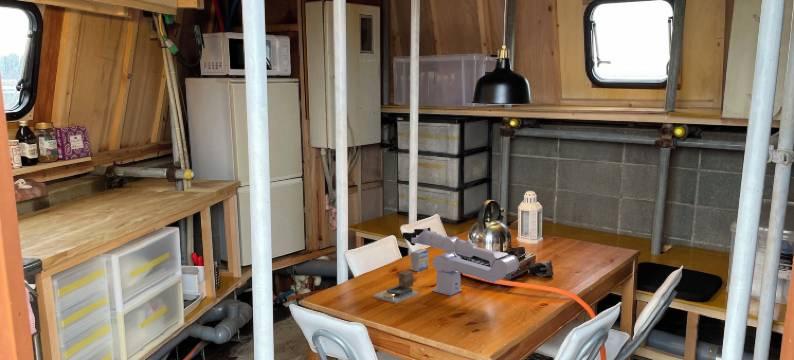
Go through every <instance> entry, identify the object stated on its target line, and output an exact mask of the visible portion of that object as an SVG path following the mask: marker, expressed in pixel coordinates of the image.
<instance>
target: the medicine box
mask: <svg viewBox="0 0 794 360" xmlns="http://www.w3.org/2000/svg"><path fill="white" fill-rule="evenodd" d="M428 268H429V250H428V249H424V248H420V249H417V250H414V251H411V252H410V269H411V270H410V271H412V272H413V271H414V272H417V273H419V272H421V271H424V270H427V269H428Z"/></svg>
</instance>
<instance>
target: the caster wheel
mask: <svg viewBox="0 0 794 360" xmlns="http://www.w3.org/2000/svg"><path fill="white" fill-rule="evenodd" d="M528 271H529V274H535V275H537V277H539V278H541V277H548V276H553V277H554V276H555V274H554V266H553V262H552V260H550V259H548V261H541V262H540V261H539V262H536V263H534V265H533V266H532V265H531V266H528Z"/></svg>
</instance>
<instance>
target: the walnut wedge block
mask: <svg viewBox="0 0 794 360" xmlns="http://www.w3.org/2000/svg"><path fill="white" fill-rule="evenodd" d="M398 285H400V286H401V285H402V286H406V287H410V288H411V287H412V286H414V272H413V270H407V269H406V270H402V271H400V272H398Z"/></svg>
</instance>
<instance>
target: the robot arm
mask: <svg viewBox="0 0 794 360" xmlns="http://www.w3.org/2000/svg"><path fill="white" fill-rule="evenodd" d="M402 238H403V239H404V240H406V241H408V242H409V243H410V245H411V246H413V247H414V246H416V244H418V245H423V246H429V247H432V248H436V249H440V250H443V251H444V252H445V253H442V254H440V255H436V256H435V257H433V259H432V265H433V266H432V267H433V268H434V270H435V272H436V288H434V289H432V292H435V293H438V294H439V293H440V294H442V295H447V296H453V295H456V294H458V293H459V292H462V289H461V285H462V284H461V283H462V282H461V281H462V280H461V277H462V276H461V274H464V275H468V276H471V277H474V278H477V279H481V280H483V281H486V282H490V283H495V282H497V281H500V280H502V279H504V278H506V277H508V276H511V275H513V274H514V273H515V272H516V271H517V270H518V269H519V267H520V262H519V261H520V260H519V259H518V258H517V256H515V255H514V254H509V253H507V252H503V251H502V252H501V251H495V250H491V249H487V248H482V247H478V246H476V244H475V243H474V242H471V240H463V239H461V238H459V237H458V236H457V235H454V236H452V237H451V236H447V235H444V234H441V233H437V231H431V227H425V228H424V227H423V228H415V229H413V232H402ZM460 255H461V256H464V257H468V258H473V257H474V256H475V257H477V258H480V259H483V260H486V261H489V265H490V266H487V265H484V264H480V263H477V262H473V261H469V260H465V259H463V258H461V256H460ZM460 273H461V274H460Z"/></svg>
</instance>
